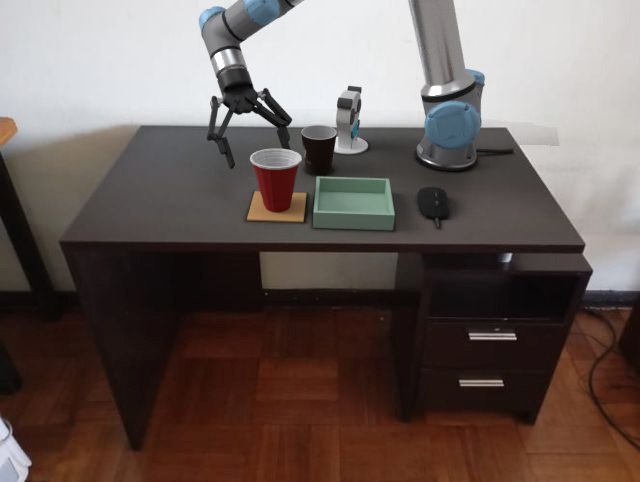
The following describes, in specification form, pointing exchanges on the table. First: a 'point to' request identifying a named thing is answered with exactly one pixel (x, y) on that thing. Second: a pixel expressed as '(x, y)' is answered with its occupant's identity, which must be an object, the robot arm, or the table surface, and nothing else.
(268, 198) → the plastic cup
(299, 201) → the cork mat
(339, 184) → the tray
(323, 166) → the coffee mug
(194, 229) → the table surface
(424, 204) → the gaming mouse
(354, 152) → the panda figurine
